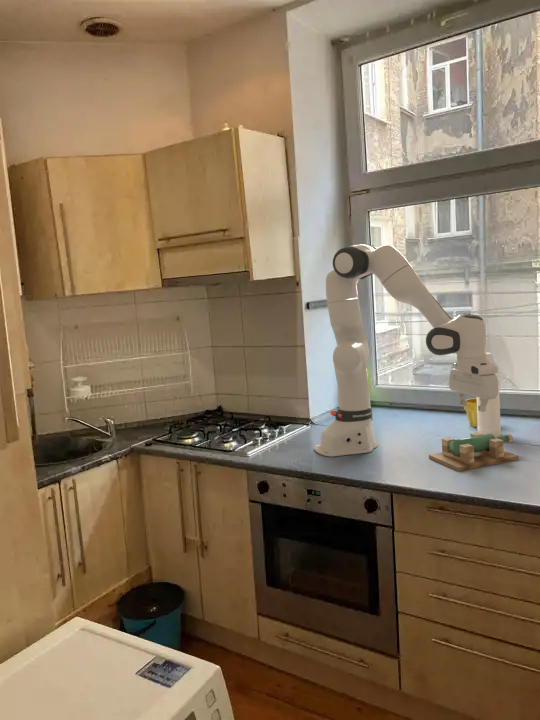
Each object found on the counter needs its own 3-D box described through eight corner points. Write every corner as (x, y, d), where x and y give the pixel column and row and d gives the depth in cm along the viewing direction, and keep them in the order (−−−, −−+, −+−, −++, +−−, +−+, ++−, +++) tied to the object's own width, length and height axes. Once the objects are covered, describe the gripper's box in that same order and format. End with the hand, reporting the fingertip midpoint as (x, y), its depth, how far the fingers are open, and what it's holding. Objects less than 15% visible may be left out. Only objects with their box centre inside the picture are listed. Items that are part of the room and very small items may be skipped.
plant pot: (470, 421, 245) (469, 397, 244) (496, 423, 239) (496, 398, 238) (460, 427, 238) (459, 402, 236) (487, 429, 231) (486, 404, 230)
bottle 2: (457, 459, 193) (460, 446, 191) (448, 449, 197) (451, 437, 195) (512, 448, 200) (516, 436, 197) (503, 439, 204) (506, 427, 201)
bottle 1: (502, 437, 218) (499, 354, 215) (479, 438, 220) (476, 355, 216) (499, 432, 226) (496, 351, 222) (476, 432, 228) (473, 352, 224)
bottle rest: (458, 471, 187) (457, 450, 186) (428, 458, 202) (428, 439, 201) (518, 459, 193) (517, 439, 193) (485, 447, 208) (484, 429, 208)
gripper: (443, 362, 203) (444, 404, 205) (483, 370, 184) (484, 415, 185) (460, 360, 205) (461, 401, 207) (501, 368, 186) (502, 413, 187)
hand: (472, 408), depth 196 cm, fingers open, 8 cm apart
